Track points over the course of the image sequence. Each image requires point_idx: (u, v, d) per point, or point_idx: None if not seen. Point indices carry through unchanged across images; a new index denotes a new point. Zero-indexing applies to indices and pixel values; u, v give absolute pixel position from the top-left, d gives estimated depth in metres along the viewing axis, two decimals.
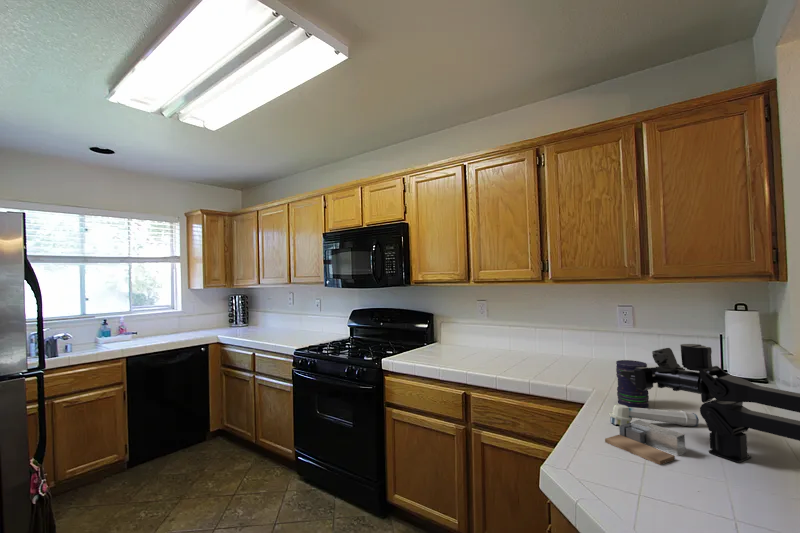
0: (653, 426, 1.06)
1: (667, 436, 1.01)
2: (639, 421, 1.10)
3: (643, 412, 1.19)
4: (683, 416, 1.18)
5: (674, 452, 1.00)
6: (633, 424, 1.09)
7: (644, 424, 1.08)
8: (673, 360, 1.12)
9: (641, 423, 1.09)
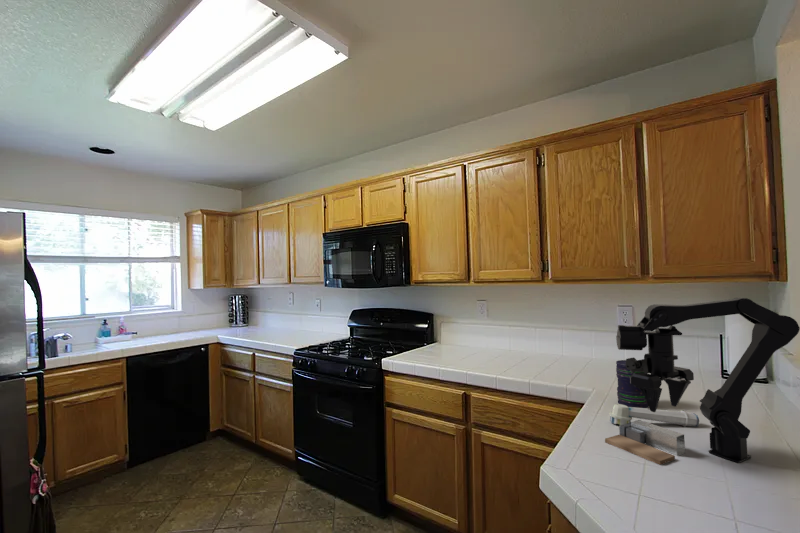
0: (653, 426, 1.07)
1: (667, 436, 1.01)
2: (639, 421, 1.10)
3: (643, 411, 1.20)
4: (683, 416, 1.18)
5: (674, 452, 1.00)
6: (633, 424, 1.10)
7: (644, 424, 1.08)
8: None
9: (640, 423, 1.09)
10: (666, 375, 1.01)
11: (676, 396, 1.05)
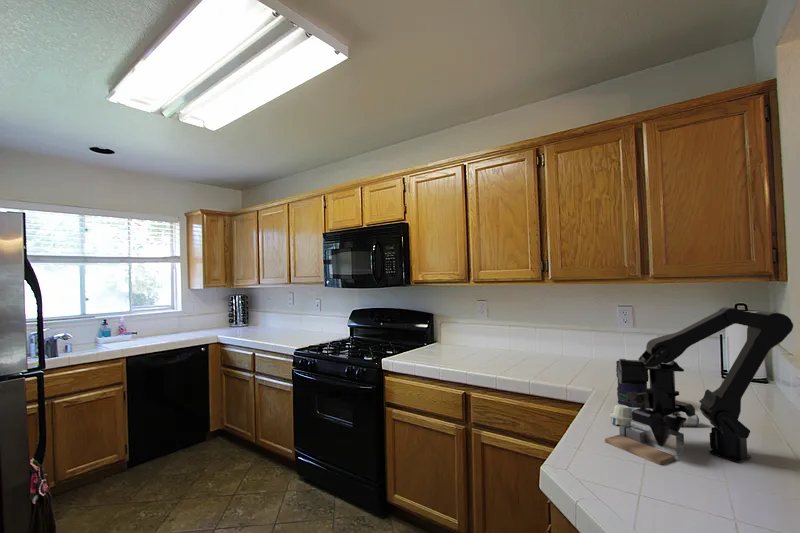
0: None
1: (667, 435, 1.01)
2: None
3: None
4: (684, 416, 1.18)
5: (673, 451, 1.00)
6: (633, 423, 1.10)
7: None
8: None
9: None
10: (667, 412, 1.00)
11: None
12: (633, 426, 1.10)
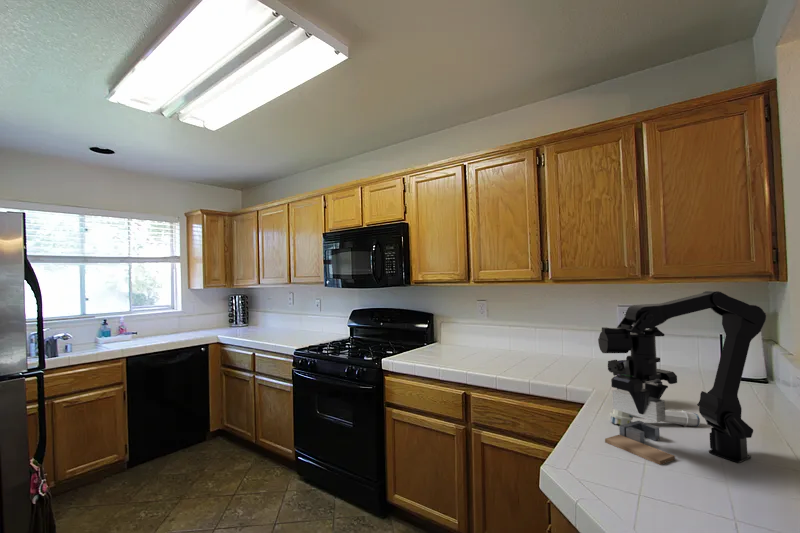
0: None
1: (647, 402, 0.99)
2: (620, 390, 1.08)
3: None
4: (684, 416, 1.18)
5: (653, 418, 0.97)
6: (614, 392, 1.07)
7: (625, 392, 1.06)
8: None
9: (621, 391, 1.07)
10: (648, 378, 0.98)
11: None
12: (614, 395, 1.07)
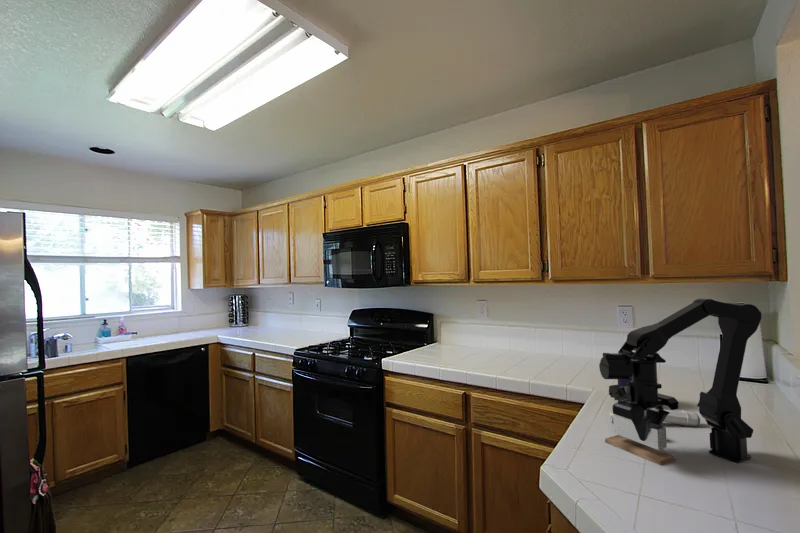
0: None
1: (648, 429, 0.98)
2: None
3: None
4: (684, 416, 1.18)
5: (655, 445, 0.97)
6: (615, 417, 1.07)
7: None
8: None
9: None
10: (649, 405, 0.97)
11: None
12: (615, 420, 1.07)
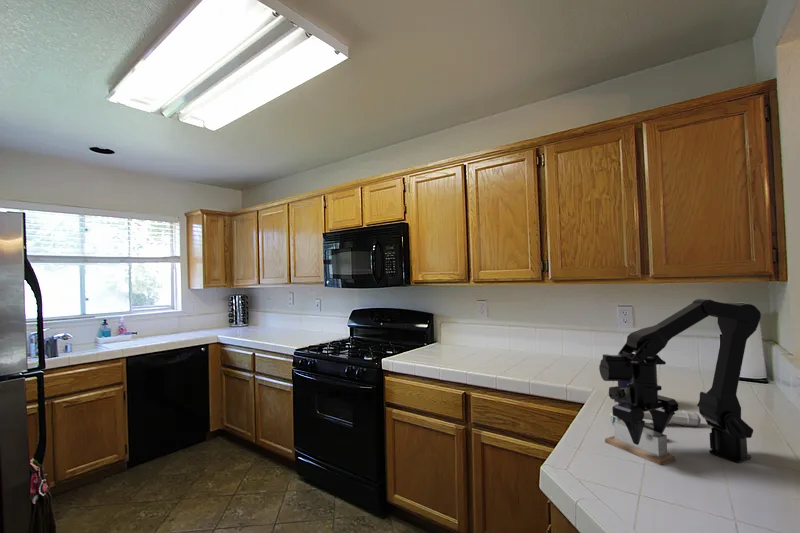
0: None
1: (649, 437, 0.98)
2: (622, 421, 1.07)
3: None
4: (685, 416, 1.18)
5: (655, 453, 0.97)
6: (616, 424, 1.07)
7: None
8: None
9: (623, 423, 1.06)
10: (649, 407, 0.97)
11: (660, 427, 1.02)
12: (616, 427, 1.06)
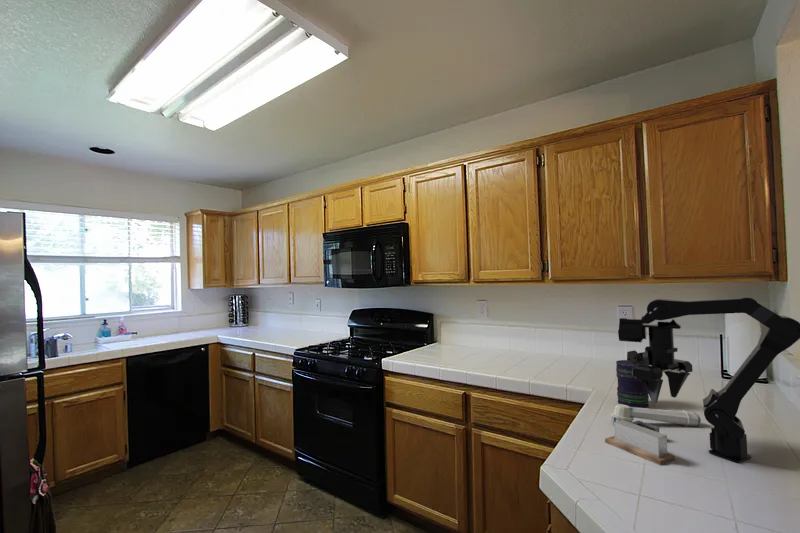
0: (635, 426, 1.03)
1: (649, 437, 0.98)
2: (622, 421, 1.07)
3: (644, 412, 1.19)
4: (685, 416, 1.18)
5: (655, 453, 0.97)
6: (616, 424, 1.07)
7: (627, 424, 1.05)
8: None
9: (623, 423, 1.06)
10: (667, 367, 1.04)
11: (676, 387, 1.09)
12: (616, 427, 1.06)
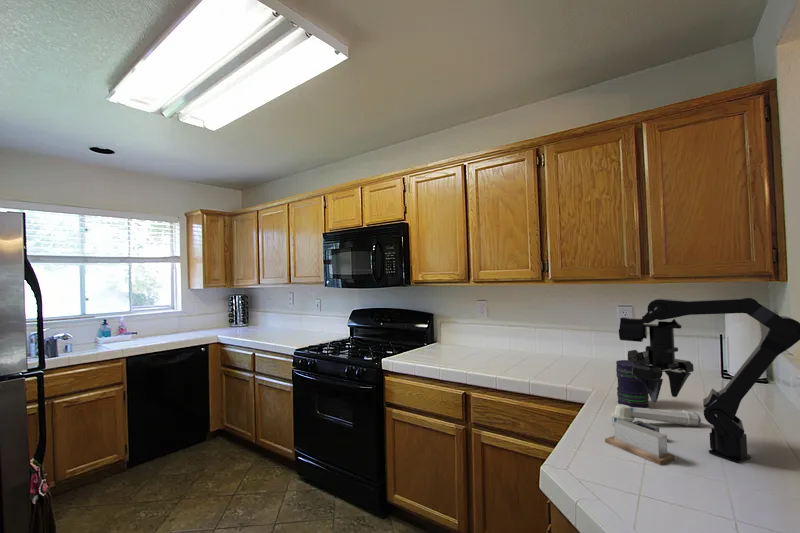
0: (635, 426, 1.03)
1: (649, 437, 0.98)
2: (622, 421, 1.07)
3: (645, 412, 1.19)
4: (685, 416, 1.18)
5: (655, 453, 0.97)
6: (616, 424, 1.07)
7: (627, 424, 1.05)
8: None
9: (623, 423, 1.06)
10: (667, 366, 1.04)
11: (676, 387, 1.09)
12: (616, 427, 1.06)
